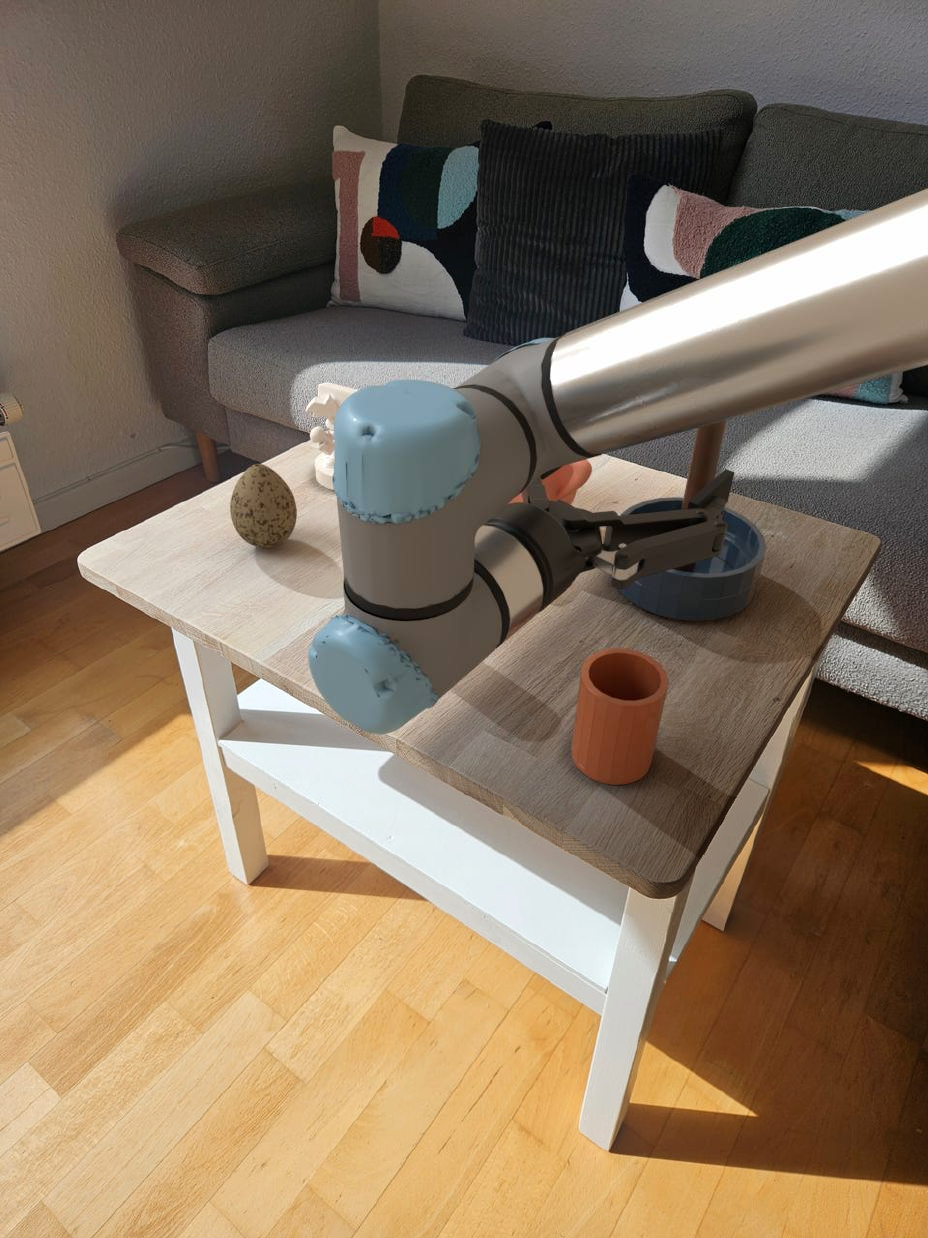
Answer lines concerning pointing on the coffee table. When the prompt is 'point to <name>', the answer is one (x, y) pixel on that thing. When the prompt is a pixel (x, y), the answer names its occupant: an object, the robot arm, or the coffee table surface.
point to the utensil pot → (618, 715)
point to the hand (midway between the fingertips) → (651, 459)
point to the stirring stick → (703, 465)
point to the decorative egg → (263, 507)
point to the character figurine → (327, 407)
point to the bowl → (703, 573)
